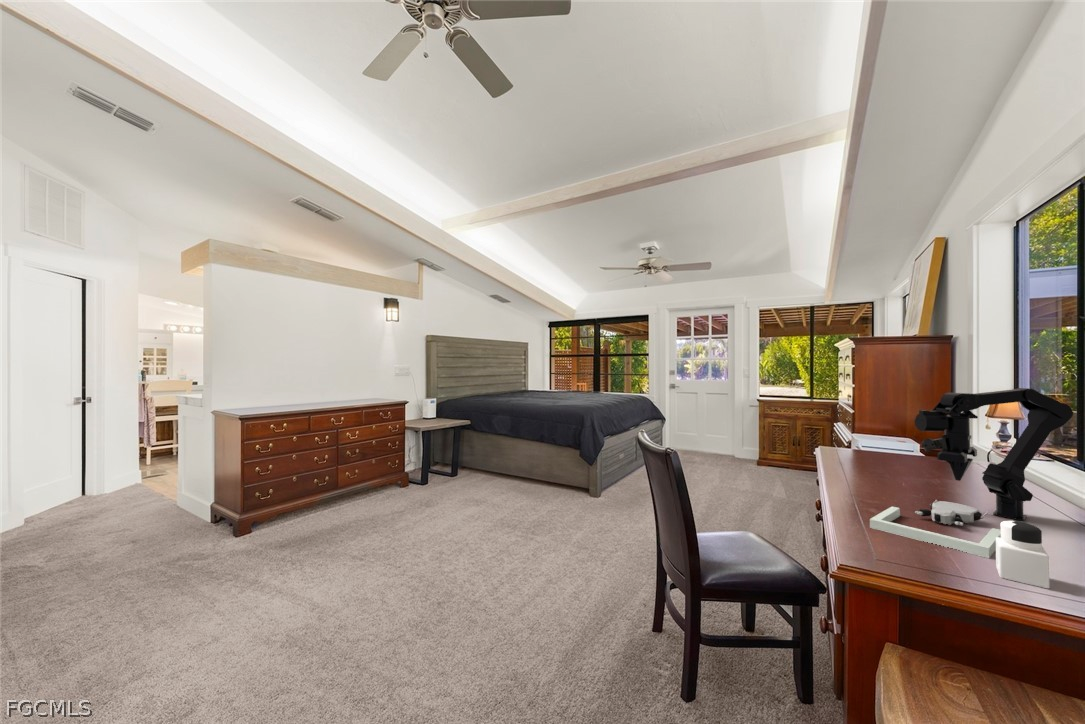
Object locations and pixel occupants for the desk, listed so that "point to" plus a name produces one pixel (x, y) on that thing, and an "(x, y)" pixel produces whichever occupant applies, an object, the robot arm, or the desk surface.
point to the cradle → (934, 534)
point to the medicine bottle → (1022, 554)
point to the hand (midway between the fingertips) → (958, 480)
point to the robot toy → (951, 513)
